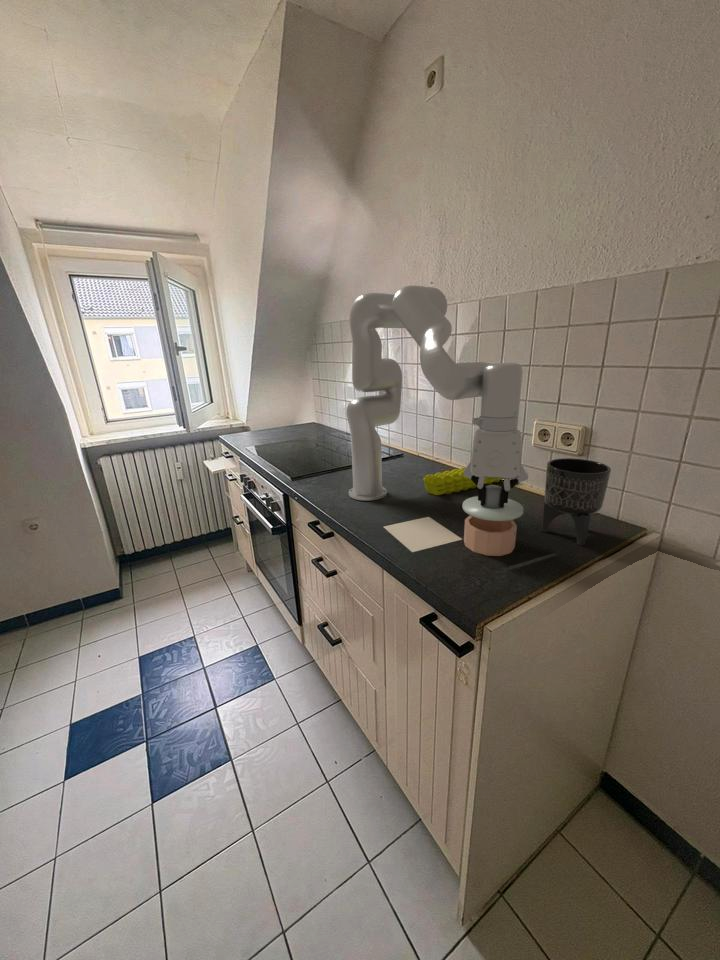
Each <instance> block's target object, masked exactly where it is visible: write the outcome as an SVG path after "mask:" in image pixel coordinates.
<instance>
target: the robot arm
mask: <svg viewBox="0 0 720 960" xmlns="http://www.w3.org/2000/svg"><path fill="white" fill-rule="evenodd" d="M447 300H448V299H447V298H446V296H445V294H444V293H443V292H442V290H440V289H439V288H436V287H433V286H422V285H407V286H403V287H401V288H399V290H397V291H396V292H395V293H394V294H393V293H392V294H391V293H385V292H384V293H381V292H369V293H368V292H367V293H363V294H362V295H359V296H358V297H357V298H356V299H355V300H354V302H353V303H352V305H351V309H350V312H349V328H350V334H351V340H352V341H351V342H352V350H351V352H352V355H351V356H352V359H351V360H352V361H351V363H352V365H351V367H352V369H351V371H352V372H351V379H352V386H353V389H355V391H357V392H360V393H375V392H378V395H376V394H375V395H367V396H366V395H365V396H360V397H356V398H353V399H352V400H351V401H350V402H349V403H348V405H347V406H346V411H345V412H346V419H347V423H348V426H349V427H348V428H349V433H350V447H351V464H352V465H351V469H352V488H350V489H349V490H348V496H349V498H352V499H353V500H357V501H364V502H365V501H367V502H369V501H378V500H380V499H383V498H385V497H386V496H387V494H388V490H387V488H385V487H384V486H383V476H382V475H383V469H382V468H383V462H382V461H383V459H382V458H383V457H382V452H383V451H382V439H381V437H380V434H379V433H378V431H377V430H376V428H377V427H380V426H387V425H390V424H393V423H395V422H396V421H397V420H398V418H399V416H400V412H401V405H402V390H403V374H402V373H403V371H402V369H401V366H400V365H399V363H398V362H397V361H396V360H395V359H393V358H387V357H386V358H382V357H383V356H382V352H383V343H382V339H381V337H380V335H379V332H378V331H377V329H381V328H382V329H405V331H407V332H408V334H409V335H410V336H411V338H413V340H414V342H415V343H416V344H417V346H418V347H419V348H420V349H419V350H420V351H419V360H420V361H419V362H420V367H421V371H422V373H423V375H424V377H425V378H426V380H427V381H428V382H429V384H430V385H431V386H432V387H433V388H434V390H435V392H437V393H438V395H440V396H441V397H443V398H445V399H446V400H450V401H458V400H464V399H473V398H479V397H481V401H480V402H481V403H480V415H479V416H478V417H473V419H472V425H476V426H478V428H477V429H476V430H475V433H474V436H473V441H472V449H471V455H470V456H471V457H470V461H469V463H468V464H467V466H466V468H465V470H464V471H463V475H465V476H466V477H468V478H470V479H471V480H472V481H473V482H474V483H475V484H476V485H477V487H476V488H477V489H478V493H477V496H478V501H481V506H483V505H484V500H485V486H486V484H485V483H484V480H485V477H488V478H501V479H504V481H503V485H502V486H503V487H502V493H501V505H500V507H501V508H504V503H508V499H509V492H510V490H511V489H512V488H513V487H516V485H518V484H519V483H523V482H524V481H527V480H528V479H529V475H528V473H527V471H526V469H525V468H524V466H523V464H522V453H523V452H522V451H523V445H522V444H523V441H522V438H523V437H522V433H521V430H519V429H518V424H519V412H520V402H521V395H522V393H521V391H522V381H523V367H522V365H521V364H520V363H516V362H497V363H490V362H482V361H475V362H474V361H473V362H470V361H469V362H455V361H454V359H452V358H451V356H450V355H449V354H448V353H447V351H446V349H445V348H444V347H443V346H445V344H446V343H447V341H448V340H449V339H450V338H451V337H450V336H451V335H452V332H453V327H452V324H451V322H450V320H449V319H447V317H446V313H447V310H448V301H447Z"/></svg>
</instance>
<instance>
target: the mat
mask: <svg viewBox="0 0 720 960" xmlns="http://www.w3.org/2000/svg"><path fill="white" fill-rule="evenodd" d="M383 528H384V529H385V530H386V531H387V532H388V533H389V534H391V536H393V538H395V539H396V540H397V541H399V542H400V543H401V544H402V545H403V546H404V547H405V548H407V550H409V551H410V552H411V553H415V552H420V551H424V550H427V549H431V548H435V547H439V546H444V545H447V544H451V543H454V542H459V541H462V540H463V541H464V538H462V537H460V536H458V535H457V534H455V533H454V532H452V531H451V530H449V529H448V528H446V527H445V526H443V524H440V523H438V522H437V521H436V520H434V519H433V518H431V517H430V516H426V517H421V518H417V519H412V520H406V521H403V522H397V523H394V524H390V525H386V526H383Z"/></svg>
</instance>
